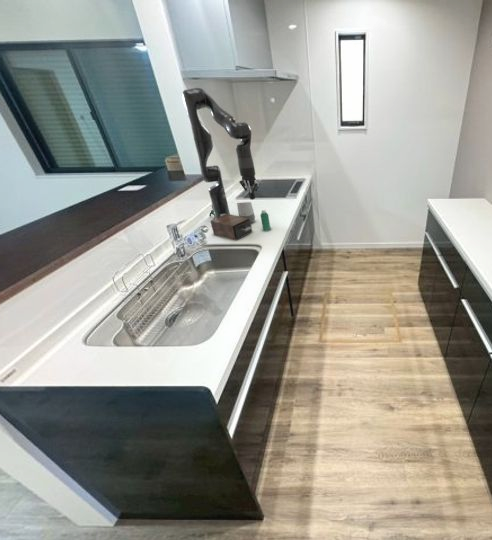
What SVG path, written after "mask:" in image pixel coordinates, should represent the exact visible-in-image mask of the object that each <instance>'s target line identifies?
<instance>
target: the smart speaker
mask: <svg viewBox="0 0 492 540" xmlns="http://www.w3.org/2000/svg"><path fill="white" fill-rule="evenodd" d="M236 207H237V214H238V216H240V217H245V218H249V220H250V223H251V224H252V223H254V222H255V220H256V215H255V211H254V207H253V204H252V201H246V202H236Z"/></svg>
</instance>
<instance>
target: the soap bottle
mask: <svg viewBox="0 0 492 540" xmlns="http://www.w3.org/2000/svg"><path fill="white" fill-rule="evenodd" d="M260 219H261V225H262V231H264V232H269V231H270V230H271V224H270V217H269V213H268V212H267V211H266V209H262V210H261V212H260Z"/></svg>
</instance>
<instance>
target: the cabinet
mask: <svg viewBox="0 0 492 540" xmlns="http://www.w3.org/2000/svg"><path fill="white" fill-rule="evenodd" d="M248 220H249V218H245V217H240V216H239V215H235V214H232V213H230V214H226V215H223V216H221V217H218V218H216V219H215V218H214V219H211V220H210V224H211V229H212V232H213V235H214V236H217V237H218V236H219V237H221V238H225V239H229V240H234V241H237V240H239V239H241V238H244V237H245V236H247V235H249V234H252V232H250V233H248V234H246V235H244V236H242V237H240V238H238V239H237V238H236V235H235V231H234V226H237V225H239V224H241V223H243V222H245V221H248Z"/></svg>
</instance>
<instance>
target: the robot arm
mask: <svg viewBox="0 0 492 540" xmlns="http://www.w3.org/2000/svg"><path fill="white" fill-rule="evenodd" d="M181 97H182V101H183V104H184V108H185V110H186V113H187V117H188V121H189V124H190V127H191V132H192V136H193V141H194V145H195V149H196V153H197V157H198V161H199V167H200V168H199V169H200V173H201V178H202V180H203V182H204V183H207V184H208V183H215V184H214V185H212V186H210V187H209V188H208V194H209V198H210V201H211V210H210V212H209V215H208V216H209V217H212V215H213V217H214V219H216V218H218V217H221V216H223V215H226V214H231V213H230V207H229V204H228V199H227V195H226V191H225V187H224V183H223V176H222V171H221V168H220V167H219V166H218V165H207V164H208V159H209V157H210V155H211V154H212V151H213V149H214V142H213V138H212V133H211V132H210V130H209V129H208V128H207V126H205V125H204V123H203V122H202V121H201V120H200V117H199V114H198V111H199V110H203V109H208V110H210V112H211V116H212V118H213V120H214V121H215V122H216V123H217V124H218V125H219V126H220V127H222V128H223V129H224V130H225V131H226V133H227V135H228V136H229V137H230V138H232V139H233V140H240V142H239V143H238V144H237V145H236V146H235V152H236V156H237V164H238V170H239V174H240V176H241V180H239V181H238V183H239V184H240V186H241V187H242V189H243V190H244V191H245V192H247V193H248V196H249V197H248V198H249V200H255V199H256V195H255V192H258V190H259V188H260V185H261V183H260V181H259V182H258V181H257V179H256V169H255V163H254V159H253V154H252V149H251V146H252V145H251V144H252V129H251V126H250V125H249V124H248V123H247V122H245V121H241V122H236V119H235V117H234V116H233V115H232V114H230V113H229V112H228V111H226V110H224V108H222V107H221V106H220V105H219V104H218V103H217V102H216V101H215V99H213V98H212V97H211V95H210V94H209V93H208V92H207V91H206V90H204V89H203V88H201V87H193V88H187V89H184V90H183V91H182V96H181Z"/></svg>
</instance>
